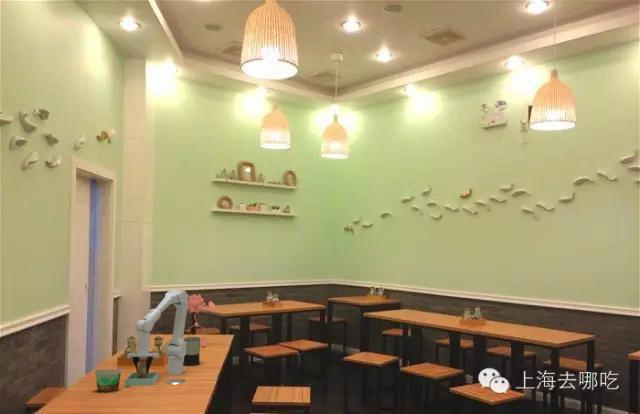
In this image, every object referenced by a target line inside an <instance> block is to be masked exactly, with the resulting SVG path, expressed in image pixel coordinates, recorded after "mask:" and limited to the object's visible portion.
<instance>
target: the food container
mask: <svg viewBox="0 0 640 414" xmlns="http://www.w3.org/2000/svg"><path fill="white" fill-rule="evenodd" d="M122 373H123V369H122V367H120V368H118V369H113V368H109V369H103V370H102V369H100V370H99V369H97V368H96V369H95V370H94V375H95V377H96V389H97V390H96V391H97V392H99V393H113V392H117V391H118V390H119V389H120V381H121V375H122Z"/></svg>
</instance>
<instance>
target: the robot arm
mask: <svg viewBox="0 0 640 414" xmlns="http://www.w3.org/2000/svg"><path fill="white" fill-rule="evenodd" d="M188 297H189V295H188V293H187V291H185V290H179V289H177V290H175V289H169V290H168V291H167V292H166V293H165V295H164V297H163V299H162V300H161V302H159V303H158V305H157V307H155V308H152V309H150V310H149V311H148V313H147V314H146V315H145V316H143V317H142V319H139V320H138V321H137V322H136V324H135V326H134V328H135V331H136V334H137V344H136V345H137V348H136V350H137V351H136V352H133V353H130V352H129V353H127V359H131V358H132V362H133V363H134V367H135V370H136V371H135V372H137V362H139V361H140V360H141V359H145V358H146V359H145V360H146V362H147V368H146V373H150V372H149V371H150V367H151V364H152V362H153V361H154V358H155V359H158V358H159V357H160V355H159V353H157V352H150V341H151V340H150V339H151V337H150V336H151V331H152V330H153V328H154V325H155V323H156V322H157V321H158V320H159V319H160V318H161V317H162V315H161V313H163V312H164V311H165V310H166V309H167V308H168V307H169V306H170V305H173V306H174V307H175V309H176V310H175V318H174V324H173V331H172V338H171V339H170V340H168V342H167V346H166V348H165V354H166V355H167V358H168V371H167V373H168V375H171V376H177V375H182V374H183V373H185V371H184V365H183V363H184V356H185V355H186V351H187V350H186V343H185V341H184V340H185V339H184V335H185V327H186V319H187V313H188V310H187V306H188V304H187V301H188V300H189V298H188Z"/></svg>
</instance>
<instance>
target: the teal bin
mask: <svg viewBox="0 0 640 414" xmlns="http://www.w3.org/2000/svg"><path fill="white" fill-rule="evenodd" d="M159 374H160V373H159V372H156V371H155V372H148V378H146V379H138V378H137V372H131V373H130V374H129V375H128V376H127V377H126V378H125V387H124V388H130V387H131V386H154V385H155V384H156V383H157V382H158V380H159V378H160V377H159Z"/></svg>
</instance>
